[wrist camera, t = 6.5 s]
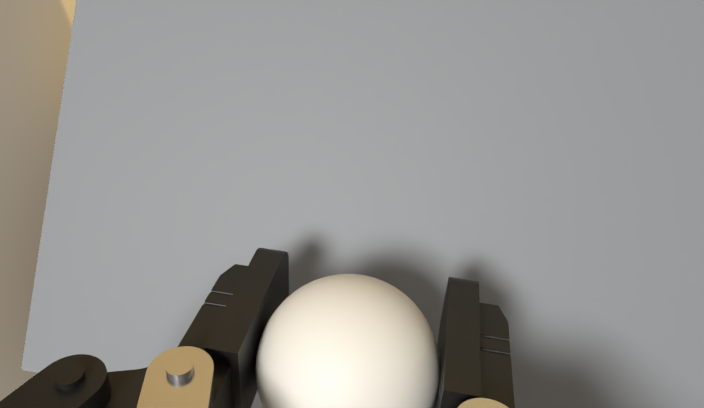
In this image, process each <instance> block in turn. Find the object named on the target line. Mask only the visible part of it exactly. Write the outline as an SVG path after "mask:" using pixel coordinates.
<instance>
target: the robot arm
mask: <svg viewBox="0 0 704 408" xmlns="http://www.w3.org/2000/svg"><path fill="white" fill-rule="evenodd" d="M288 296H289V255H288V252H286V251H279V250H273V249H266V248H258V249H257V250H256V252H255V254H254V256H253V258H252V259H251V261H250V263H249V265H248V266H245V265H239V264H235V265H233V266H232V267H231V268H229V269H228V270H227V271H225V272H224V273H222V274H221V275H220V276H219V278H218V280H217V281H216V283H215V285H214V286H213V288H212V290H211V293H209V295H208V296H207V298H206V300H205V303H204V304H203V305H202V307H201V308H200V310H199V312H198V313H197V315H196V317H195V318H194V320H193V322H192V323H191V325H190V327H189V328H188V330H187V332H186V334H185V335H184V337H183V339H182V340H181V342H180V344H179V345H178V347H176V348H172V349H169V350H167V351H165V352H163V353H161V354H160V355H158V356H157V357H156V358H155V359H154V360H153V361H152V362H151V363H150V365H149V366H148V367H146V368H142V369H135V370H124V371H113V372H107V369H106V366H105V364H104V363H103V361H102V360H100V359H99V358H97V357H95V356H92V355H87V354H77V355H71V356H67V357H64V358H61V359H59V360H57V361H55V362H53V363H51V364H50V365H48V366H47V367H46V368H44V369H43V370H42V371H40V372H39V373H38V374H36V375H35V376H34V377H33V378H31V379H30V380H28V381H27V382H26V383H24V384H23V385H22V386H20V387H19V388H18V389H16V390H15V391H14V392H12V393H11V394H10V395H8V396H7V397H6V398H4V399H3V400H2V401H0V408H251V406H252V403H253V401H254V398H255V395H256V393H257V390H258V388H257V382H256V368H255V367H256V356H257V351H258V346H259V342H260V339H261V336H262V334H263V331H264V329H265V327H266V325H267V323H268V321H269V319H270V317H271V316H272V314H273V313H274V312H275V310H276V309H277V308H278V307H279V306H280V304H281V303H282V302H283V301H284V300H285V299H286V298H287V297H288ZM437 348H438V353H439V362H440V374H439V384H438V390H437V395H436V398H435V401H434V404H433V408H515V404H514V391H513V378H512V365H511V356H510V353H511V352H510V342H509V326H508V321H507V319H506V317H505V316H504V314H503V312H502V311H501V309H500V308H499V306H498V305H492V304H486V303H479V281H474V280H467V279H461V278H454V277H449V278H448V283H447V288H446V293H445V299H444V304H443V310H442V315H441V321H440V327H439V334H438V342H437Z"/></svg>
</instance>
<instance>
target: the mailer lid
mask: <svg viewBox="0 0 704 408" xmlns="http://www.w3.org/2000/svg"><path fill="white" fill-rule="evenodd" d="M258 248H266V249H273V250H279V251H286V252H288V255H289V296H288V297H287V298H286V299H285V300H284V301H283V302H282V303H281V304H280V306H279V307H278V308H277V309H276V310H275V312H274V313H273V314H272V316H271V317H270V319H269V321H268V323H267V325H266V327H265V329H264V331H263V334H262V336H261V339H260V342H259V346H258V351H257V356H256V367H255V368H256V382H257V388H258V390H257V393H256V395H255V398H254V401H253V403H252V406H251V408H433V404H434V401H435V398H436V395H437V390H438V384H439V374H440V362H439V353H438V348H437V342H438V334H439V327H440V321H441V315H442V310H443V304H444V299H445V293H446V288H447V283H448V278H449V277H454V278H461V279H467V280H474V281H479V303H486V304H492V305H498V306H499V308H500V309H501V311H502V312H503V314H504V316H505V317H506V319H507V321H508V326H509V342H510V352H511V353H510V356H511V365H512V378H513V391H514V404H515V408H704V0H76V7H75V14H74V20H73V27H72V34H71V41H70V47H69V54H68V61H67V67H66V74H65V81H64V87H63V94H62V101H61V107H60V114H59V121H58V128H57V134H56V141H55V148H54V154H53V161H52V168H51V174H50V182H49V188H48V195H47V201H46V208H45V215H44V222H43V228H42V235H41V241H40V248H39V255H38V261H37V268H36V275H35V281H34V289H33V295H32V302H31V308H30V315H29V322H28V328H27V335H26V342H25V349H24V355H23V362H22V368H21V369H22V370H26V371H31V372H36V373H39V372H40V371H42V370H43V369H44V368H46V367H47V366H48V365H50V364H51V363H53V362H55V361H57V360H59V359H61V358H64V357H67V356H71V355H77V354H87V355H92V356H95V357H97V358H99V359H100V360H102V361H103V363H104V364H105V366H106V369H107V372H113V371H124V370H135V369H142V368H146V367H148V366H149V365H150V363H151V362H152V361H153V360H154V359H155V358H156V357H157V356H158V355H160V354H161V353H163V352H165V351H167V350H169V349H172V348H176V347H178V345H179V344H180V342H181V340H182V339H183V337H184V335H185V334H186V332H187V330H188V328H189V327H190V325H191V323H192V322H193V320H194V318H195V317H196V315H197V313H198V312H199V310H200V308H201V307H202V305H203V304H204V303H205V300H206V298H207V296H208V295H209V293H211V290H212V288H213V286H214V285H215V283H216V281H217V280H218V278H219V276H220V275H221V274H222V273H224V272H225V271H227V270H228V269H229V268H231V267H232V266H233V265H235V264H239V265H245V266H248V265H249V263H250V261H251V259H252V258H253V256H254V254H255V252H256V250H257V249H258Z"/></svg>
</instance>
